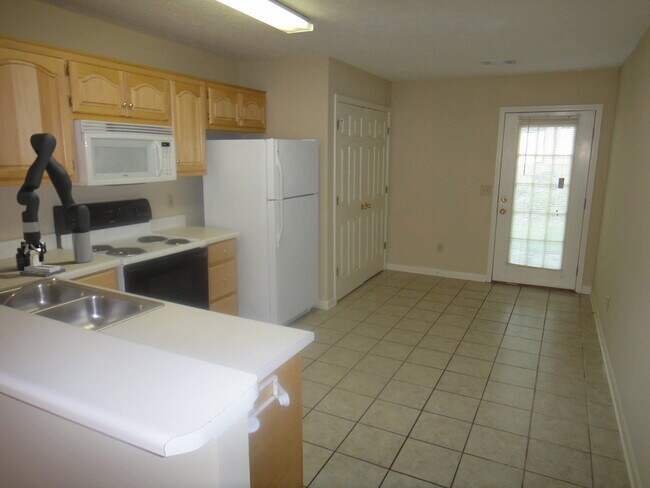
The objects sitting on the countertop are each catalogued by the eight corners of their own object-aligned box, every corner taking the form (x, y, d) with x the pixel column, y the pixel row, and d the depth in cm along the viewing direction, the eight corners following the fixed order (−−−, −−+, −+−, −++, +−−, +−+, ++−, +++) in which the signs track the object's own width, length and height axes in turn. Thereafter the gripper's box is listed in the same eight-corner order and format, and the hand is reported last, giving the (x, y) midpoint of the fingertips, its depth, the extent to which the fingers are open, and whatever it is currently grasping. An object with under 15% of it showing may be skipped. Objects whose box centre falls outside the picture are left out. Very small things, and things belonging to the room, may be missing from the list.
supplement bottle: (35, 268, 246) (32, 246, 244) (24, 270, 239) (21, 248, 237) (25, 267, 248) (22, 246, 246) (14, 270, 241) (11, 248, 239)
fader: (37, 268, 237) (35, 254, 236) (43, 268, 236) (41, 255, 235) (29, 270, 233) (28, 256, 232) (35, 270, 232) (34, 256, 231)
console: (40, 269, 242) (39, 263, 241) (65, 271, 237) (64, 264, 237) (19, 274, 231) (18, 268, 230) (45, 276, 226) (45, 270, 225)
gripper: (48, 230, 233) (52, 260, 235) (27, 229, 237) (30, 259, 239) (35, 232, 226) (39, 263, 228) (14, 231, 229) (17, 262, 232)
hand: (35, 261), depth 234 cm, fingers open, 8 cm apart
